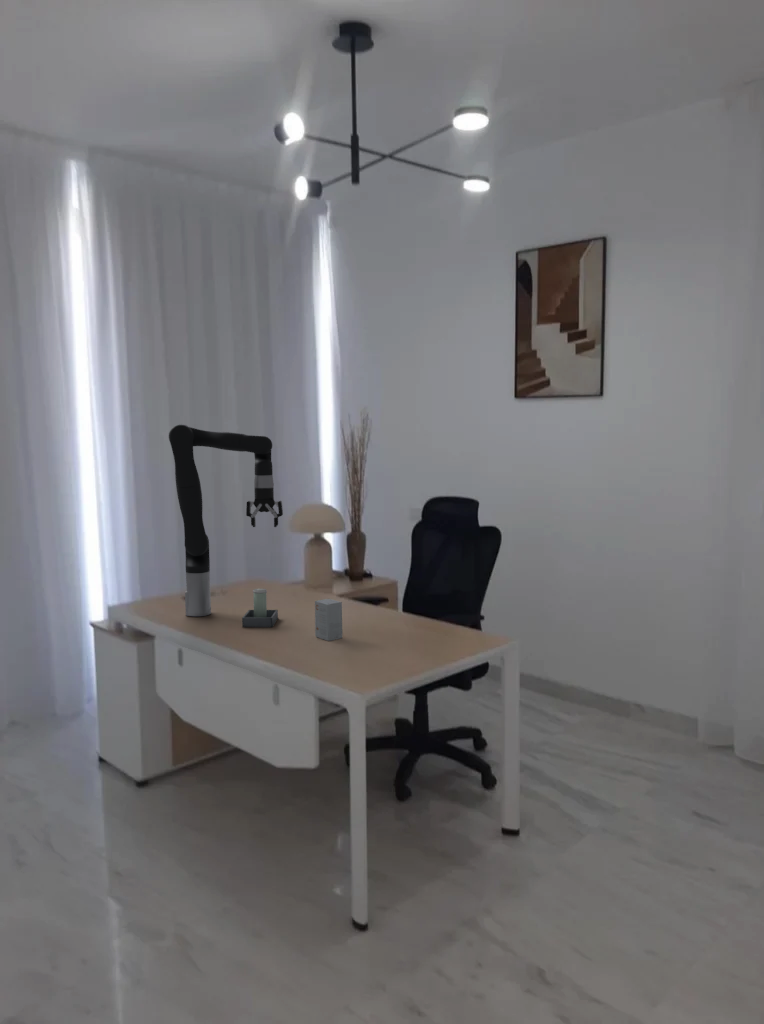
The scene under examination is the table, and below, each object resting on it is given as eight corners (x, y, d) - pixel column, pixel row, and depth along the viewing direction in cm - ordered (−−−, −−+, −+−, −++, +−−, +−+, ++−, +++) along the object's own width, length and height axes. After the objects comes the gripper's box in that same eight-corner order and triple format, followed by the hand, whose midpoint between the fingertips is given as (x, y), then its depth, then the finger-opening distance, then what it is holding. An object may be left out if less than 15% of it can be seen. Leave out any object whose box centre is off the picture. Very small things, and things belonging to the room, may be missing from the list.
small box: (342, 638, 283) (342, 601, 281) (328, 641, 279) (327, 604, 277) (329, 633, 289) (328, 598, 287) (314, 636, 285) (314, 600, 283)
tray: (242, 627, 299) (242, 617, 299) (249, 618, 312) (248, 609, 312) (272, 627, 299) (272, 617, 298) (277, 618, 312) (277, 609, 311)
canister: (252, 622, 303) (251, 590, 302) (255, 619, 308) (254, 588, 307) (265, 622, 303) (265, 590, 302) (268, 619, 308) (268, 588, 307)
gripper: (244, 487, 316) (245, 528, 318) (280, 487, 316) (281, 528, 318) (247, 485, 324) (248, 525, 326) (283, 485, 323) (284, 525, 325)
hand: (264, 526), depth 322 cm, fingers open, 8 cm apart
